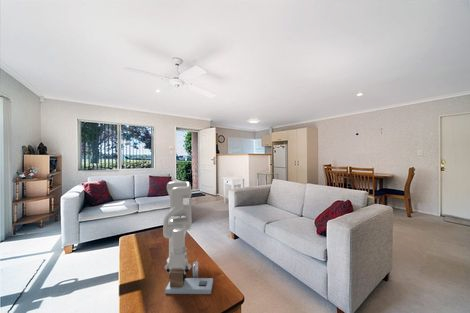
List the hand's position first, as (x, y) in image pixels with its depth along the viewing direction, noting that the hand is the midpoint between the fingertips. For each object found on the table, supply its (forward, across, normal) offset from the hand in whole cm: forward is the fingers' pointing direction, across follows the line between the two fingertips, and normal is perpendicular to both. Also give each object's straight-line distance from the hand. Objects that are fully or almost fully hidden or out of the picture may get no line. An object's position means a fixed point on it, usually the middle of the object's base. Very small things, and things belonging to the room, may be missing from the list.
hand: (177, 279), depth 109 cm
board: (+5, -8, 0) cm, 9 cm away
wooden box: (+2, 0, 0) cm, 2 cm away
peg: (+5, -8, -9) cm, 13 cm away
